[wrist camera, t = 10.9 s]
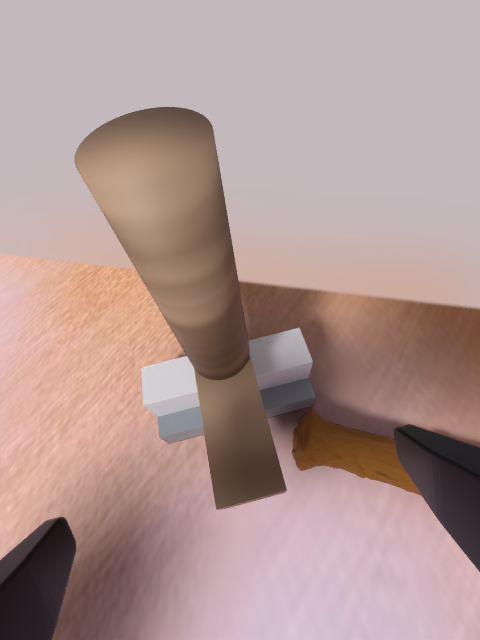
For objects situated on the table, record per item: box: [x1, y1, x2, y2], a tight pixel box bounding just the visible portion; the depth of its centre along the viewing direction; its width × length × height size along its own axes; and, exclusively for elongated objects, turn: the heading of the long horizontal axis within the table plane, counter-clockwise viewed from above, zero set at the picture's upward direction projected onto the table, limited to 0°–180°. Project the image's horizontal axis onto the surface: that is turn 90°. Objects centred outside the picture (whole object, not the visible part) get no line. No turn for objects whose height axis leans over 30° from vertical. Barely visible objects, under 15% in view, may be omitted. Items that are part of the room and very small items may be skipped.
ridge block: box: [141, 328, 316, 444], centre depth 20 cm, size 10×5×4 cm, turn 103°
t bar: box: [75, 107, 287, 509], centre depth 12 cm, size 14×3×13 cm, turn 13°
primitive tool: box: [292, 409, 422, 496], centre depth 16 cm, size 19×6×4 cm, turn 78°
